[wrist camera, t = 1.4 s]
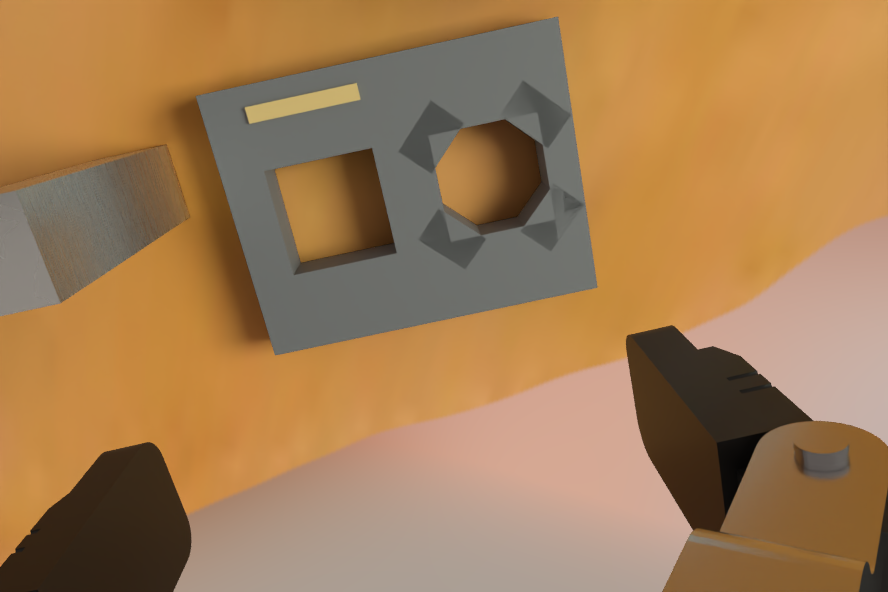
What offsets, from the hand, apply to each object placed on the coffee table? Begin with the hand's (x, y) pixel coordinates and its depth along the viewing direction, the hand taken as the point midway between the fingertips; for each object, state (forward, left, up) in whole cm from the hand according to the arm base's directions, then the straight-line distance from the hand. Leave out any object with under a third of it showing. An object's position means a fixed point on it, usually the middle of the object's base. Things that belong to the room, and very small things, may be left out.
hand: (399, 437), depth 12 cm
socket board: (0, 0, -28) cm, 28 cm away
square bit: (-14, +3, -28) cm, 32 cm away
